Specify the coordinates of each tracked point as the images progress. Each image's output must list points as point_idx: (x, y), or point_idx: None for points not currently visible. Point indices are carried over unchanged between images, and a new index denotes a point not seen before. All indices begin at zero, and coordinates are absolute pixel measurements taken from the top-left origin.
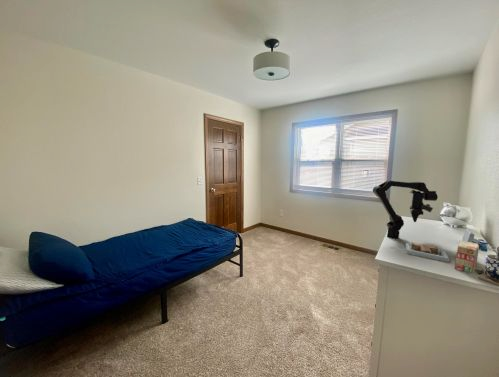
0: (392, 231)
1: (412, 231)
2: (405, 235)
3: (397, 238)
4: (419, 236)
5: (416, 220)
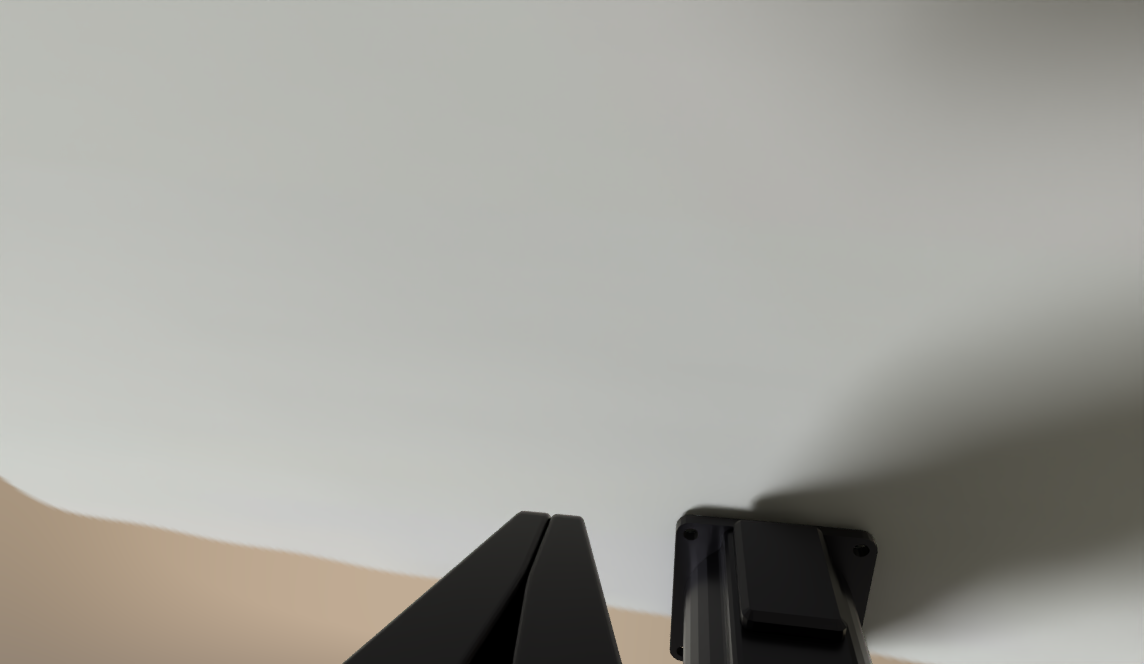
0: None
1: (39, 222)
2: (486, 378)
3: (874, 541)
4: (341, 116)
5: (595, 575)
